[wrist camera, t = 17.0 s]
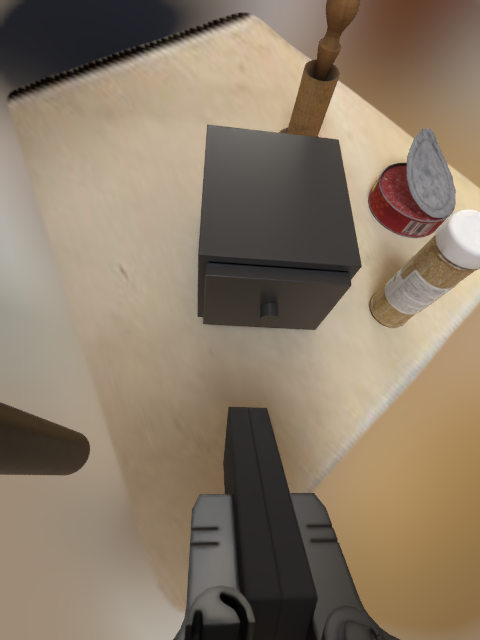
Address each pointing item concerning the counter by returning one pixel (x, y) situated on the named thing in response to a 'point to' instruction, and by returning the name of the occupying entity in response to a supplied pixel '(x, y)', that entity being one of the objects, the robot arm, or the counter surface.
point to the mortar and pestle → (321, 72)
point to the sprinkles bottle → (431, 270)
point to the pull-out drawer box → (270, 295)
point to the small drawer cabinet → (274, 203)
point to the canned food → (415, 190)
